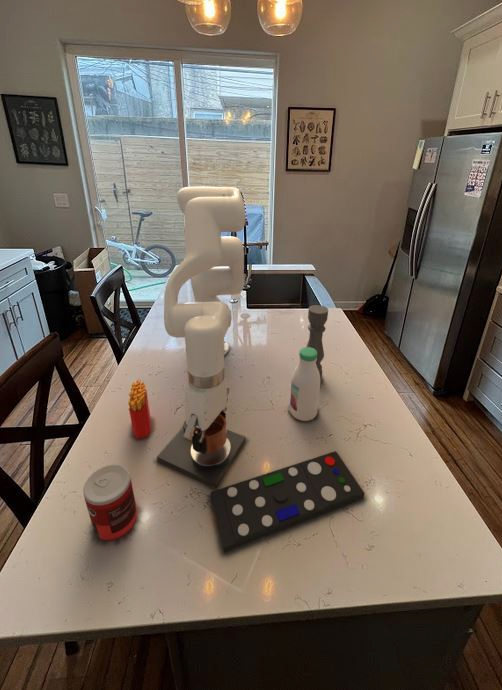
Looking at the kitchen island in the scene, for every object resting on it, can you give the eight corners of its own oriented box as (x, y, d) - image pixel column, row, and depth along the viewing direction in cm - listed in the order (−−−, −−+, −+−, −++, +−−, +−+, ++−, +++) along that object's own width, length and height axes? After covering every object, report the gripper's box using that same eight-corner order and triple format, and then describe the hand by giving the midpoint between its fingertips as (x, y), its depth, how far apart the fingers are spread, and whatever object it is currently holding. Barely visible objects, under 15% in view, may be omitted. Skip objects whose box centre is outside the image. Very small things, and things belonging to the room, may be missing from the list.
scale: (157, 461, 77) (156, 451, 76) (192, 420, 89) (192, 411, 87) (215, 488, 71) (215, 479, 70) (245, 440, 83) (245, 431, 81)
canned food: (102, 503, 67) (92, 465, 63) (142, 500, 68) (135, 462, 64) (87, 544, 60) (74, 504, 56) (131, 541, 61) (123, 501, 57)
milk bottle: (319, 405, 95) (325, 346, 87) (314, 425, 88) (320, 362, 80) (293, 399, 97) (297, 341, 89) (286, 417, 90) (290, 356, 82)
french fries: (134, 417, 89) (127, 378, 84) (151, 414, 90) (145, 375, 85) (133, 444, 81) (125, 403, 76) (151, 440, 82) (145, 399, 77)
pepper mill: (321, 386, 102) (328, 315, 93) (301, 383, 104) (306, 312, 94) (321, 374, 108) (329, 305, 98) (303, 371, 109) (308, 303, 99)
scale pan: (182, 457, 74) (182, 455, 74) (205, 428, 82) (205, 427, 82) (217, 472, 71) (217, 471, 71) (237, 441, 79) (237, 440, 79)
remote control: (363, 497, 70) (364, 491, 69) (224, 552, 60) (223, 545, 59) (335, 455, 79) (336, 449, 78) (211, 496, 69) (210, 490, 68)
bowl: (187, 446, 74) (185, 430, 72) (205, 424, 80) (204, 408, 78) (215, 459, 71) (214, 441, 69) (232, 434, 77) (232, 418, 75)
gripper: (213, 348, 77) (216, 407, 84) (164, 393, 62) (172, 461, 69) (242, 356, 74) (242, 417, 81) (197, 406, 59) (202, 474, 66)
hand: (210, 437), depth 75 cm, fingers closed on bowl, 7 cm apart
